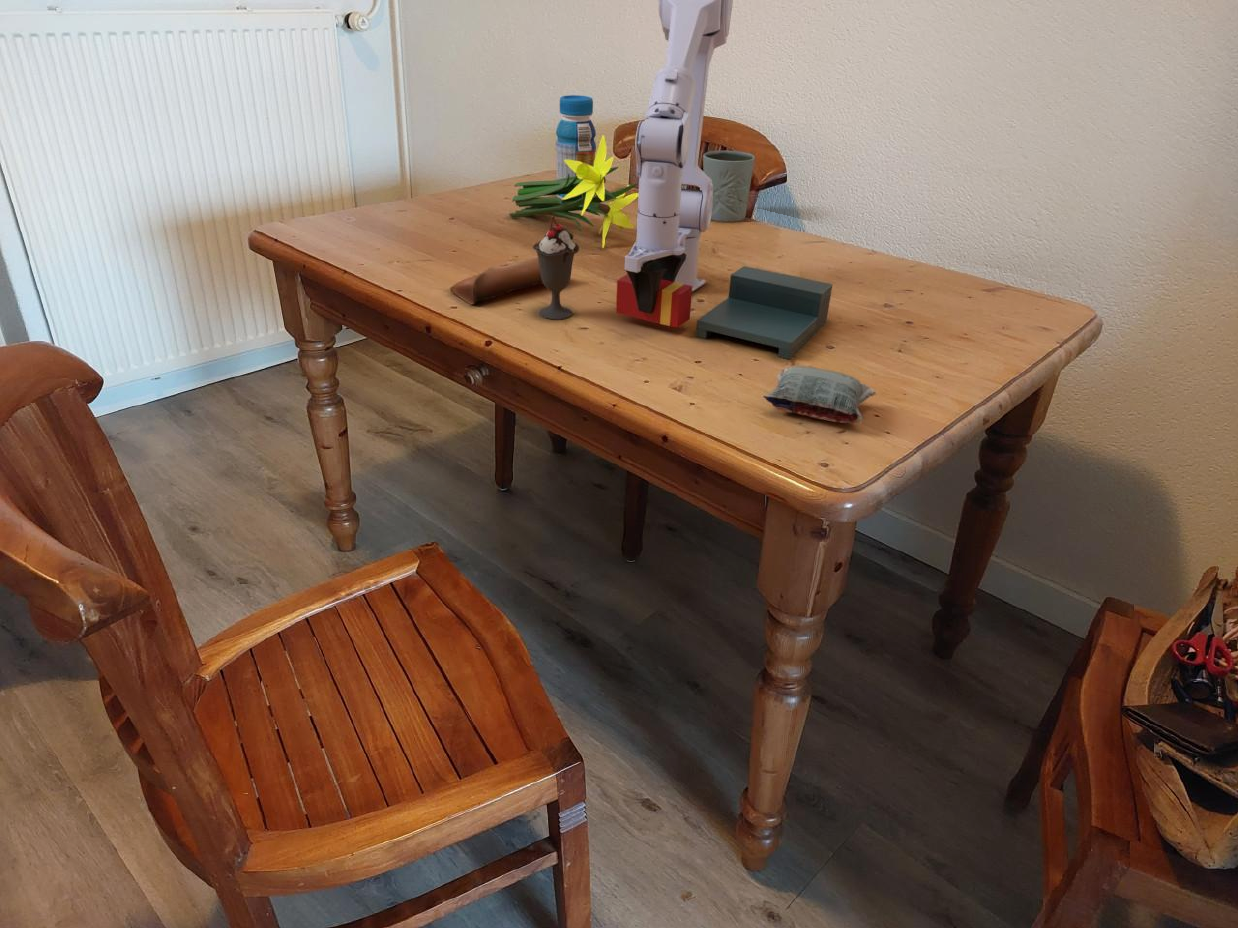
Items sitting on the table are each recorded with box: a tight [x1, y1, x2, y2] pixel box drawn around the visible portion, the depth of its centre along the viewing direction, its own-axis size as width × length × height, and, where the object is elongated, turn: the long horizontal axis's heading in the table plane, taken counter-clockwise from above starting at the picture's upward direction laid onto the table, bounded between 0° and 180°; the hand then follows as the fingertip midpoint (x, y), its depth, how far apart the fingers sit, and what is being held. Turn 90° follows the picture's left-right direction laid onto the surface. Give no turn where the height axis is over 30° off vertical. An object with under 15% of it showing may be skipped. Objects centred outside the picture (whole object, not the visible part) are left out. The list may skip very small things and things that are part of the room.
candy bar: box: [615, 273, 693, 328], centre depth 124 cm, size 10×4×5 cm, turn 60°
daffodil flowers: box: [508, 134, 639, 248], centre depth 160 cm, size 17×15×35 cm
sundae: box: [531, 216, 580, 321], centre depth 125 cm, size 7×7×15 cm
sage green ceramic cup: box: [702, 150, 756, 223], centre depth 175 cm, size 10×10×12 cm
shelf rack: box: [695, 265, 833, 360], centre depth 125 cm, size 14×16×6 cm
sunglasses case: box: [449, 257, 544, 306], centre depth 137 cm, size 18×7×7 cm, turn 132°
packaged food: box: [763, 366, 877, 424], centre depth 104 cm, size 9×12×5 cm
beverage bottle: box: [554, 94, 597, 200], centre depth 181 cm, size 8×8×20 cm
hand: (653, 306), depth 125 cm, fingers closed on candy bar, 4 cm apart
